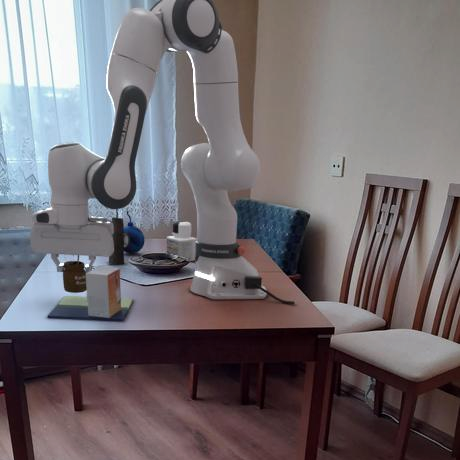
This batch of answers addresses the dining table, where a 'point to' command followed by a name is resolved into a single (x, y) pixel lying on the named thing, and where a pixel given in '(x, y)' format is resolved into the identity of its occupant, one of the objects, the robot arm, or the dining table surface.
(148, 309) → the dining table surface
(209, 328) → the dining table surface
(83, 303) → the sage mat
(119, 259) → the butter churn
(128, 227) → the bomb
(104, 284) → the small box
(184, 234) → the container
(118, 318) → the slate mat
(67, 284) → the utensil holder
